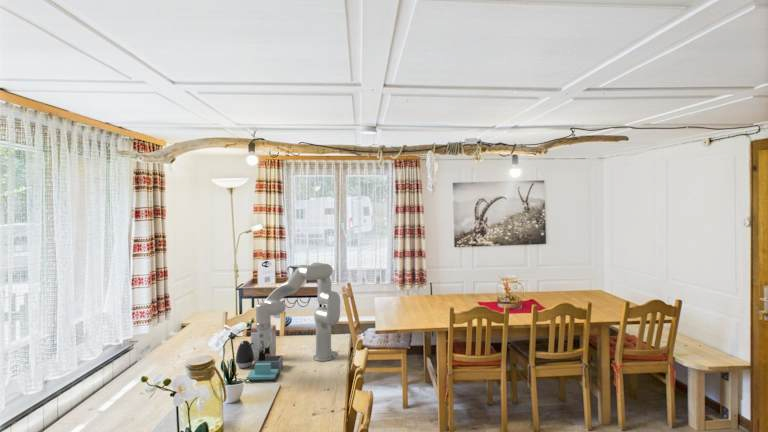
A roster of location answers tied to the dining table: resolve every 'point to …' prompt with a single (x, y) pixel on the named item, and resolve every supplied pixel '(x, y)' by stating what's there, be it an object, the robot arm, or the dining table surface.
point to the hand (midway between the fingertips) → (264, 356)
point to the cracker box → (255, 341)
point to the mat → (265, 380)
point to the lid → (262, 372)
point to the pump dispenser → (244, 355)
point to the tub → (272, 361)
